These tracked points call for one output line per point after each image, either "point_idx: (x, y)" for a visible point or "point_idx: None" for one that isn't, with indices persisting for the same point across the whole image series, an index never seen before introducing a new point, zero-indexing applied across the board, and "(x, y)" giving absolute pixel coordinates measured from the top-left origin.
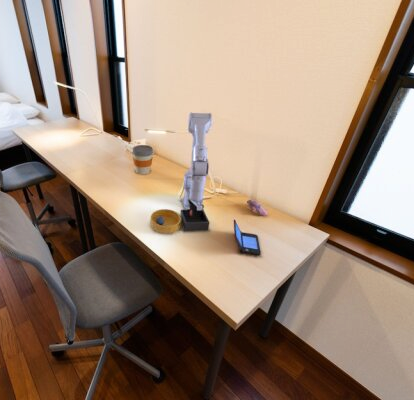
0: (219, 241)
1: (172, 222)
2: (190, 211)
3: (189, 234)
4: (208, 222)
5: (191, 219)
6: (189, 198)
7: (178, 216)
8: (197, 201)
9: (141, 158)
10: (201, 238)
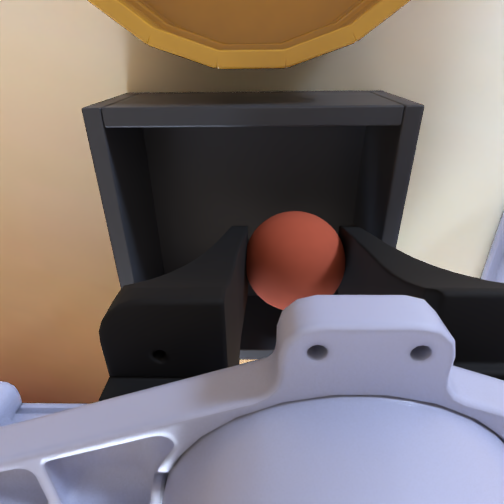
0: (43, 336)
1: None
2: (311, 230)
3: (86, 136)
4: None
5: (315, 206)
6: (295, 387)
7: (300, 43)
8: (143, 501)
9: None
10: (49, 229)
